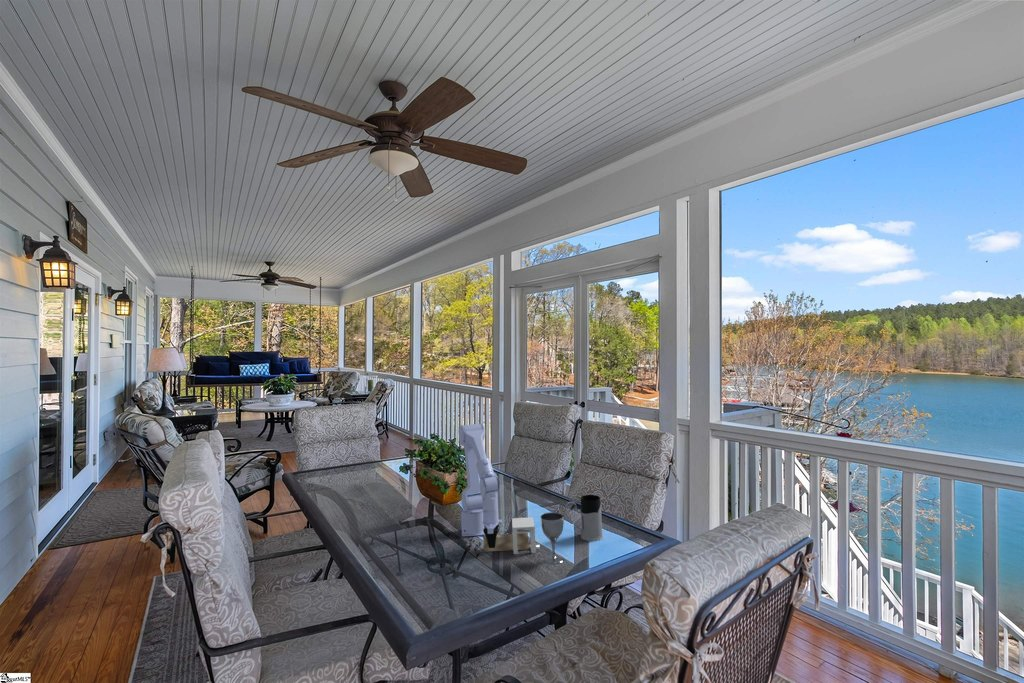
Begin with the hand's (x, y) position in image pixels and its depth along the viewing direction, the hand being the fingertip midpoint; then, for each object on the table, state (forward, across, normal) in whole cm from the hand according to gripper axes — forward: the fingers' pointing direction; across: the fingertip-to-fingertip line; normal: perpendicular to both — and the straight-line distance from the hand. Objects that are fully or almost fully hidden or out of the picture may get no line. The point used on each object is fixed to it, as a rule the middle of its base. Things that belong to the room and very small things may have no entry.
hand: (492, 545), depth 173 cm
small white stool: (+1, 0, -12) cm, 12 cm away
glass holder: (+2, +8, -36) cm, 37 cm away
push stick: (+1, 0, -5) cm, 5 cm away
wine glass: (+2, -10, -22) cm, 24 cm away
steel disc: (+2, 0, -16) cm, 16 cm away
